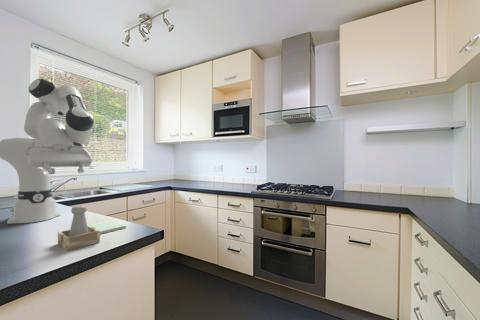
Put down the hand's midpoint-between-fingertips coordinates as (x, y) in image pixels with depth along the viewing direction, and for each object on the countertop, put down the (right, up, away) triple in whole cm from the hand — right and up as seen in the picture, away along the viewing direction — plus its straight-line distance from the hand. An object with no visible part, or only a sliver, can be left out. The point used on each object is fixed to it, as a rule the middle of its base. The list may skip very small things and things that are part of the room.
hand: (67, 172), depth 85 cm
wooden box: (+11, -24, -9) cm, 28 cm away
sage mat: (+9, -24, +8) cm, 27 cm away
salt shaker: (+11, -24, -9) cm, 28 cm away
